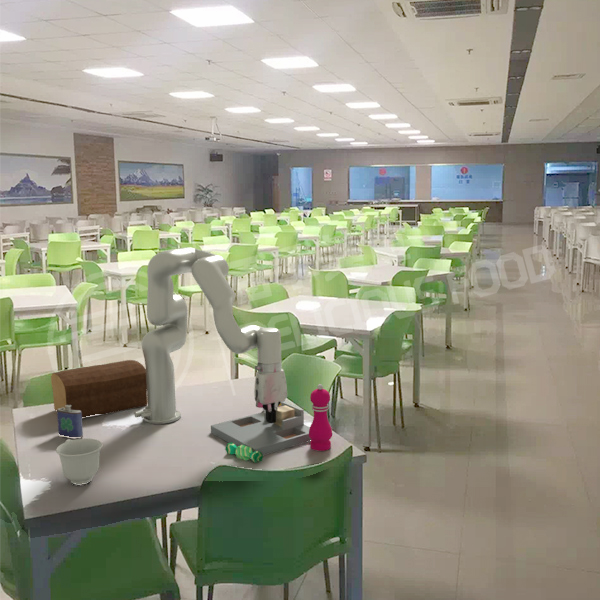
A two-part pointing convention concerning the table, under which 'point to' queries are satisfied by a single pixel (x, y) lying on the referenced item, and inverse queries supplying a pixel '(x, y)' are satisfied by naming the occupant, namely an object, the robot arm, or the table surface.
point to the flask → (69, 422)
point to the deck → (264, 431)
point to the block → (283, 414)
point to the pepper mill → (320, 420)
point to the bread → (101, 388)
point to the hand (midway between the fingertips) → (271, 421)
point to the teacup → (80, 459)
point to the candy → (243, 452)
